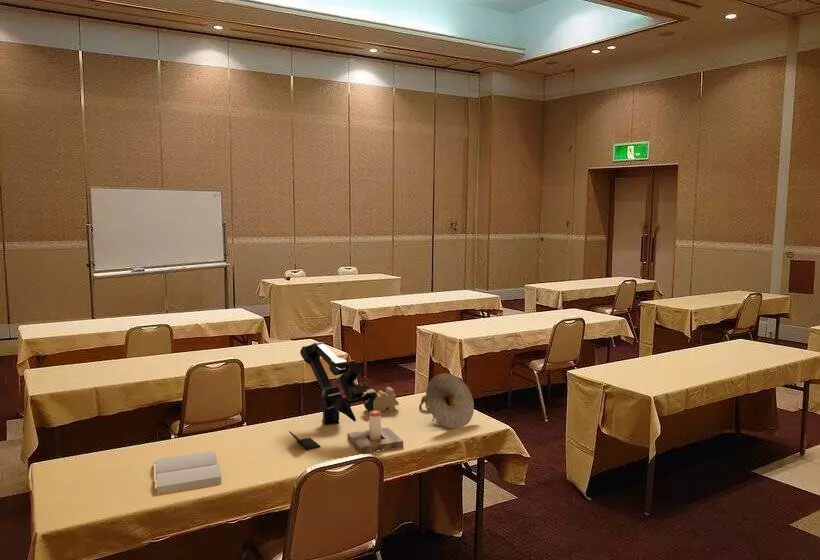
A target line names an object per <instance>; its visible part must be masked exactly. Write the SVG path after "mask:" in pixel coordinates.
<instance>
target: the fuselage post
mask: <svg viewBox="0 0 820 560" xmlns="http://www.w3.org/2000/svg"><path fill="white" fill-rule="evenodd" d="M368 412H369V411H368ZM381 414H382V413H381V411H379V410H378V409H377V410H374V411H370V412H369V414H368V416H369V418H368V419H369V425H368V427H369V430H370V441H376V440H381V428H382V423H381V422H382V421H381V420H382V415H381Z"/></svg>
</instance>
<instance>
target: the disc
mask: <svg viewBox="0 0 820 560" xmlns="http://www.w3.org/2000/svg"><path fill="white" fill-rule="evenodd" d="M425 395H426V401H427V406H428V408H429V410H427V409H426V410H425V411H424V413H429V412H430V413H431V415H432V420H431V422H434V421H435V420H436V421H437V422H438V423H440V424H441V425H442V426H444V427H447V428H450V429H460V428H463V427H465V426H467V424H469V422H470V421H471V420H472V418H473V416H474V410H475V409H474V408H475V403H474V399H473V395H472V393H471V391H470V388H469V387H468V385H467V384H466V383H465V382H464V381H463V380H462V379H461V378H459V377H457V376H455V375H454V374H451V373H446V372H445V373H439V374H437V375H434V376H433V377H432V378H431V379H430V381H428V384H427V386H426V390H425ZM420 413H421V414H422V413H423V411H421V412H420Z"/></svg>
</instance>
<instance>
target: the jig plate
mask: <svg viewBox="0 0 820 560" xmlns="http://www.w3.org/2000/svg"><path fill="white" fill-rule="evenodd" d="M347 440H348V441H349V443H350V444H351V443H352V444H353V445H352V444H351V445H352V446H353V447H354V448H355V450H356V451H357V452H358V453H359V454H360V453H362V454H368V453H375V452H378V451H377V450H381V451H386V450H385V449H387V450H392V448H394V449H398V447H400V448H404V440H403V439H402V438H401V437H400V436H399V435H398V434H396V433H395V432H394V431H393V430H392V428H390V427H388V426H387V427H381V440H376V441H370V429H367V430H361V431H360V430H359V431H353V432H347ZM383 449H384V450H383ZM374 451H375V452H374Z"/></svg>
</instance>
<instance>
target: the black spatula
mask: <svg viewBox="0 0 820 560" xmlns="http://www.w3.org/2000/svg"><path fill="white" fill-rule="evenodd" d="M288 433H289V434H290V435H291V436H292V437H293V438H294V439H295V440H296V443H297V444H299V445H300V446H301V447H302V448H303V449H304V450H305V451H311V450H314V449H315V450H316V449H319V448H321V445H320V444H319V443H318V442H317V441H315V440H314V439H312V437H305V438H299V437H297V435H295V434H294V433H293V432H292V431H290V430H288Z"/></svg>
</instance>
